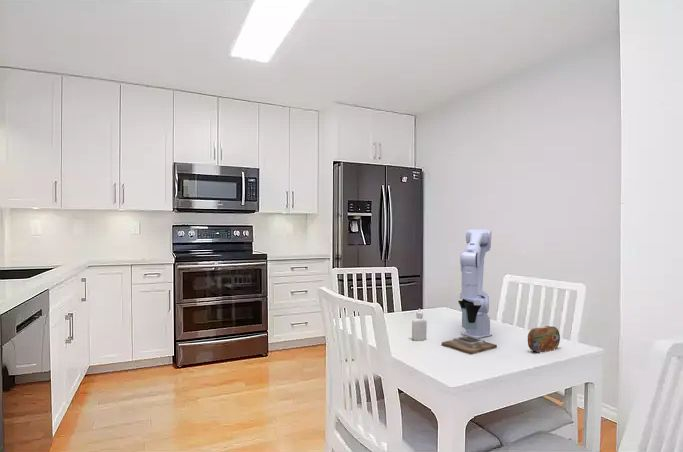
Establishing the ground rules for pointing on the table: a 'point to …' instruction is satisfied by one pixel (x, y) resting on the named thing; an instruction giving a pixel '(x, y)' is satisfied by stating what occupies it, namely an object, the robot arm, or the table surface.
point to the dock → (469, 345)
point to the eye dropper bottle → (419, 327)
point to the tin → (543, 339)
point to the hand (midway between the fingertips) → (469, 321)
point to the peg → (465, 321)
